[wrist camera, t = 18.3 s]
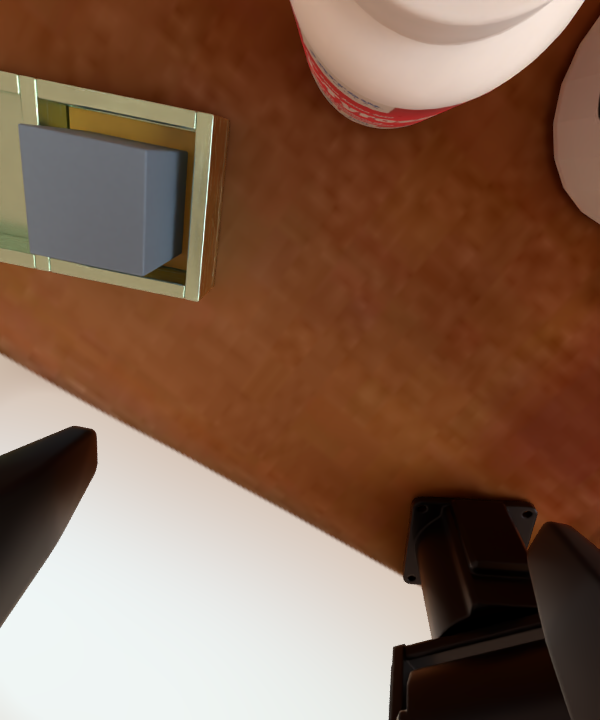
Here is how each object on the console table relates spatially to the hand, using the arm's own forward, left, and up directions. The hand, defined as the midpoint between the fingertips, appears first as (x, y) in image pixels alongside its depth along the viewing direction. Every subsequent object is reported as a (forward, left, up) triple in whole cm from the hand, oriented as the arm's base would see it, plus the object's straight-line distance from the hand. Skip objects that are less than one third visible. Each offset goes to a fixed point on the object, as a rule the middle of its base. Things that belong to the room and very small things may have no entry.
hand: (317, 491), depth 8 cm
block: (+5, +8, -11) cm, 15 cm away
